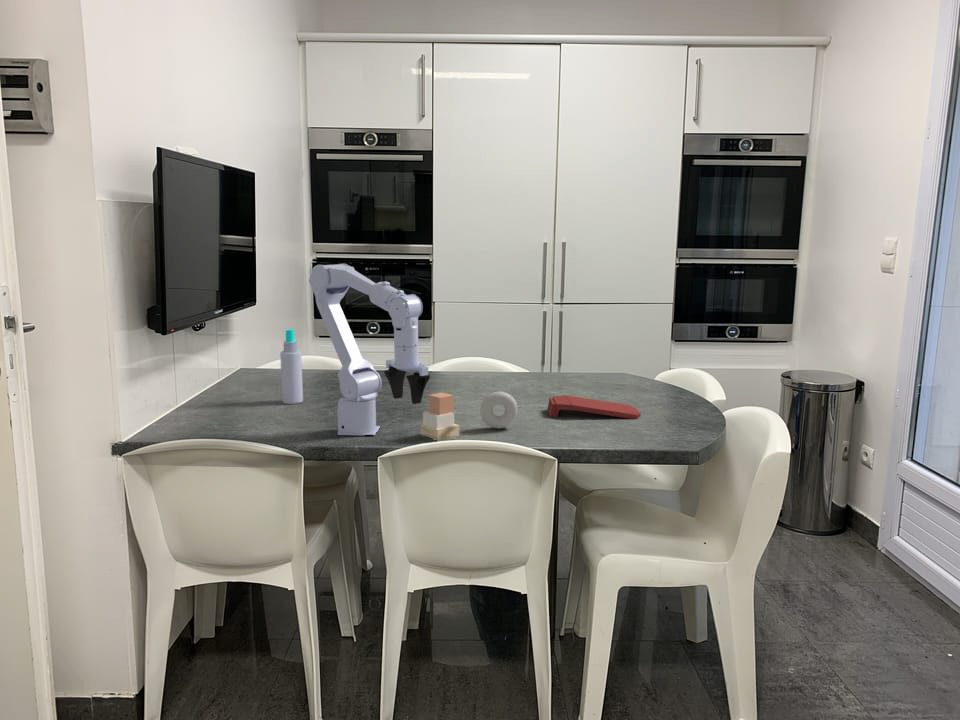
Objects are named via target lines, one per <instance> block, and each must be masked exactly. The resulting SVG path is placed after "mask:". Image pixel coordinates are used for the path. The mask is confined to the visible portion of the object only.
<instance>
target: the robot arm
mask: <svg viewBox="0 0 960 720" xmlns="http://www.w3.org/2000/svg"><path fill="white" fill-rule="evenodd" d="M308 281H309V282H308V283H309V284H310V287H311V289H312V292H313V294H314V297H315V304H316V306H317V309H318V311H319V314H320V316H321V319H322V321H323V323H324V326H325V328H326V331H327V333H328V336H329V338H330V340H331V342H332V345H333V348H334V350H335V352H336V354H337V357H338V360H339V362H340V364H341V368H340V370H339V371H338V373H337V375H336V376H337V378H338V381H339V390H340V392H341V395H342V396H343V397H340V398H339V399H338V403H337V436H365V435H374V436H375V435H376V434H377V433H378V431H379V430H380V429H381V426H380V425H377V412H376V411H377V407H376V405H377V404H376V399H377V398H376V397H378V393H379V391H381V389H382V386H383V384H382V382H383V381H382V376H381V375H380V374H379V372H377V370H376V369H375V368H374V366H373V363H371V362H370V361H368V360H366V359H365V358H363V357H362V354H361V351H360V349H359V347H358V344H357V342H356V339H355V337H354V335H353V331H352V330H351V328H350V325H349V323H348V320H347V317H346V316H345V314H344V311H343V309H342V307H341V304H340V303H341V301H342V299H343V298H344V297H345V295H346V294H347V292H348V290H349V289H350V288H352V289H354V290H356V291H359V292H360V293H363V294H365V295H367V296H368V297H369V301H370V302H371V304H374V305H376V306H377V307H379V308H381V309H382V310H384V311H386V312H388V314H389V316H390V318H391V324H392V326H393V336H394V337H393V338H394V339H393V341H394V342H393V346H394V347H393V348H394V350H393V352H394V359H392V358H391V359H386V360H385V368H387V370H386V369H385V370H384V371H383V372H384V373H383V374H384V375H385V377H386V379H387V381H388V383H389V386H390V389H391V393H392V396H393V399H394V400H395V399H397V400H398V399H401V398H403V395H404V382H405V377H406V379H407V381H408V385H409V388H410V398H411V403H412V405H417V404H422V400H423V395H424V392H425V388H426V386H427V383H429V379H430V378H431V375H430V374H429V367H428V366H426V365H423V364H422V361H419V317H421V315H422V313H423V311H424V310H423V308H424V306H423V302H422V300H421V298H420V297H419V296H418V295H416V294H414V293H411V294H406V293H405V292H404V290H402V289H399V290H398V289H397V288H395V287H393V286H391V283H390V282H389V281H379V282H375V281H373V280H371V279H370V278H368V277H367V276H365V275H363V274H362V273H360V272H358V271H357V270H355V267H354V266H351V265H348V264H347V263H338V264H326V265H325V264H317V265H315V266H313V268H312V269H311V272H310V275H309V279H308ZM406 373H411V374H409V375H406ZM379 428H380V429H379ZM376 432H377V433H376Z"/></svg>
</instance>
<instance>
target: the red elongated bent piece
mask: <svg viewBox="0 0 960 720" xmlns="http://www.w3.org/2000/svg"><path fill="white" fill-rule="evenodd" d="M560 410H569V411H570V410H572V411H576V412H577V411H578V412H579V411H580V412H583V413H591V414H597V415H604V416H610V417H616V418H624V419H631V420H638V419H640V417H641V415H642V414H641V412H640V411H639V410H638V409H637V408H636V407H635V406H632V405H630V404H626V403H625V404H624V403H619V402H614V401H613V402H612V401H605V400H598V399H593V398H585V397H580V396H574V395H568V394H567V395H566V394H565V395H564V394H563V395H555V396H552V397H549V399H548V405H547V413H548V416H549V418H550V417H551V418H558V417H559V412H560Z"/></svg>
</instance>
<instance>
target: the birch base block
mask: <svg viewBox="0 0 960 720" xmlns="http://www.w3.org/2000/svg"><path fill="white" fill-rule="evenodd" d="M419 425H420V435H421V434H422V435H424V436H427V437H430V438H433V439H436V440H437V441H436V442H439V441H438V440H441V441H445V440H444V439H446V438H450V437H454V436H458V435H459V436H460V425H459V424H456V423H454V425H452V426H448V427H444V428H439V429H435V428H432V427H429V426H426V425H423V423H421V424H419ZM424 436H423V437H424ZM459 436H458V437H459ZM427 437H426V438H427ZM454 438H455V437H454ZM450 439H451V438H450ZM446 440H447V439H446Z"/></svg>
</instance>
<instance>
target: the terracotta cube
mask: <svg viewBox="0 0 960 720" xmlns="http://www.w3.org/2000/svg"><path fill="white" fill-rule="evenodd" d="M428 411H429V412H431V413H434V414H437V415H443V414H448V413H455V412H454V395H453V394H449V393H445V392H438V393H432V394H431V393H430V394H429V395H428Z"/></svg>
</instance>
